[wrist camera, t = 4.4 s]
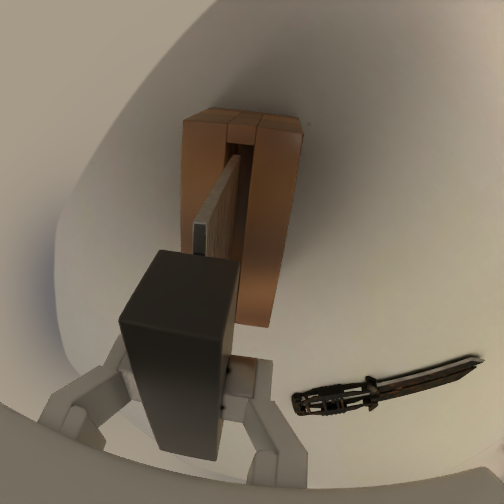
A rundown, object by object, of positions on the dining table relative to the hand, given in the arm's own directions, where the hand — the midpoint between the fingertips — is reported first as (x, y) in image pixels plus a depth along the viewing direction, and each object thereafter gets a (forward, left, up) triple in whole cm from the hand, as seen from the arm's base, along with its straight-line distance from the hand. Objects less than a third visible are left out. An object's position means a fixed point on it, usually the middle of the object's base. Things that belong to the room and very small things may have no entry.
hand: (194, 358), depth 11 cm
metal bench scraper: (0, 0, -8) cm, 8 cm away
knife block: (0, 0, -15) cm, 15 cm away
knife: (+20, +20, -15) cm, 32 cm away
